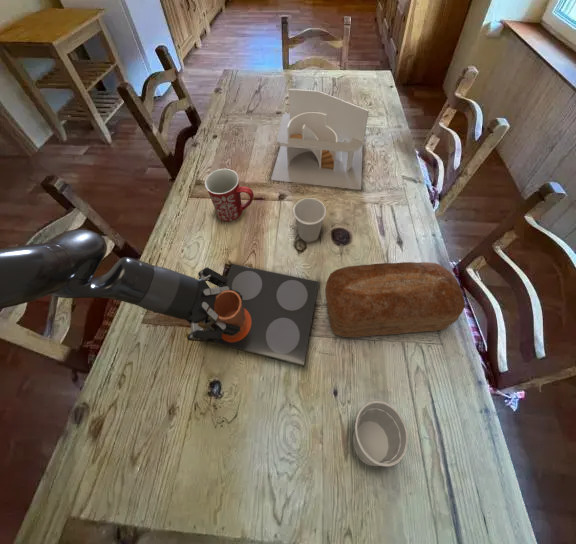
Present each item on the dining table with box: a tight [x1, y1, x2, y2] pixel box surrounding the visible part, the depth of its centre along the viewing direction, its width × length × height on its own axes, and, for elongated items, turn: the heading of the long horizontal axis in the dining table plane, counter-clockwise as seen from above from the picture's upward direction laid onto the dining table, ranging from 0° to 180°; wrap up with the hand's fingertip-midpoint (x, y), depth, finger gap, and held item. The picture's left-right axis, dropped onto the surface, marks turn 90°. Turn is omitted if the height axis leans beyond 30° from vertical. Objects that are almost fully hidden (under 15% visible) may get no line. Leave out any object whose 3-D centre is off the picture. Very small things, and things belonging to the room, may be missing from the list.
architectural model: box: [270, 88, 370, 191], centre depth 104 cm, size 28×21×23 cm
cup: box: [352, 400, 409, 467], centre depth 57 cm, size 8×8×12 cm
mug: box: [204, 168, 254, 223], centre depth 94 cm, size 13×9×14 cm
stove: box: [205, 263, 320, 368], centre depth 77 cm, size 18×22×2 cm
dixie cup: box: [292, 197, 327, 243], centre depth 89 cm, size 8×8×10 cm
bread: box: [324, 261, 466, 338], centre depth 72 cm, size 12×28×14 cm, turn 94°
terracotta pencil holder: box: [214, 290, 247, 337], centre depth 71 cm, size 6×6×10 cm
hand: (238, 314), depth 71 cm, fingers closed on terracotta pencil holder, 6 cm apart
